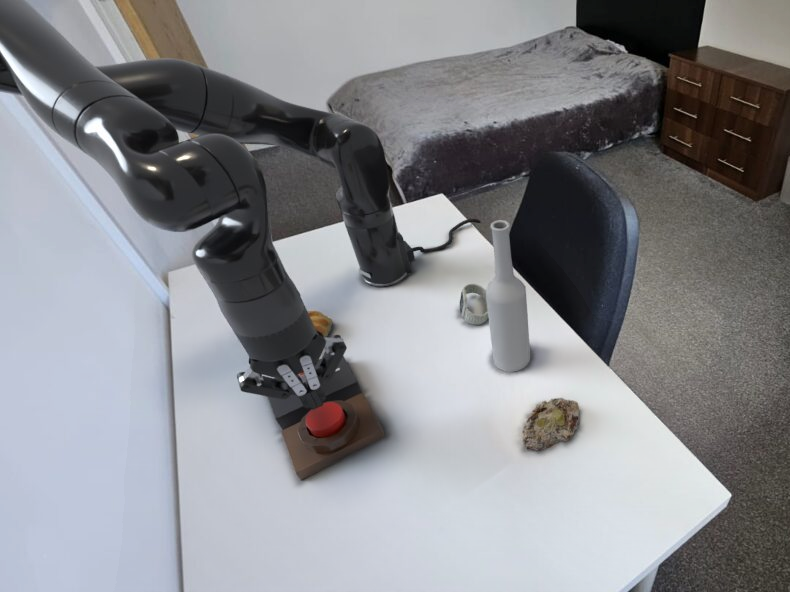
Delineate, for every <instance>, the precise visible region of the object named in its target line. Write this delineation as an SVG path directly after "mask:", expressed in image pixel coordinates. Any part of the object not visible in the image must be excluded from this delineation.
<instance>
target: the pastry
mask: <svg viewBox="0 0 790 592" xmlns="http://www.w3.org/2000/svg"><path fill="white" fill-rule="evenodd" d="M307 312H308V314H309V316H310V318H311V320H312V322H313V324H314V327H315V329H316V330H317V331H319V332H321V333H322V334H323V336H324V337H329V333H330V332H331V331H332V326H333V319H332V318H331V317H329V316H328V315H327V314H324V313H323V312H321V311H319V310H307Z"/></svg>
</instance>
